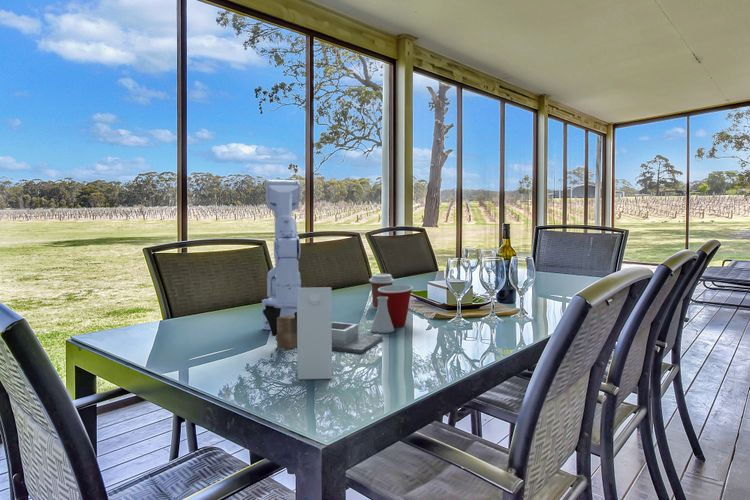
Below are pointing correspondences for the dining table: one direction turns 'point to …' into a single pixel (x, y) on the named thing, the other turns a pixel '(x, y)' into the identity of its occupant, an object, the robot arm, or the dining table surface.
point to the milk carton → (314, 333)
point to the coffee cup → (379, 285)
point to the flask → (382, 318)
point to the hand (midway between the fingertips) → (287, 336)
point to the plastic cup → (397, 302)
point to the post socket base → (351, 338)
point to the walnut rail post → (286, 332)
